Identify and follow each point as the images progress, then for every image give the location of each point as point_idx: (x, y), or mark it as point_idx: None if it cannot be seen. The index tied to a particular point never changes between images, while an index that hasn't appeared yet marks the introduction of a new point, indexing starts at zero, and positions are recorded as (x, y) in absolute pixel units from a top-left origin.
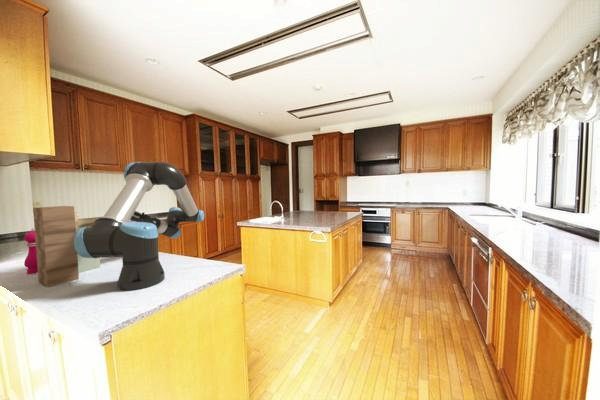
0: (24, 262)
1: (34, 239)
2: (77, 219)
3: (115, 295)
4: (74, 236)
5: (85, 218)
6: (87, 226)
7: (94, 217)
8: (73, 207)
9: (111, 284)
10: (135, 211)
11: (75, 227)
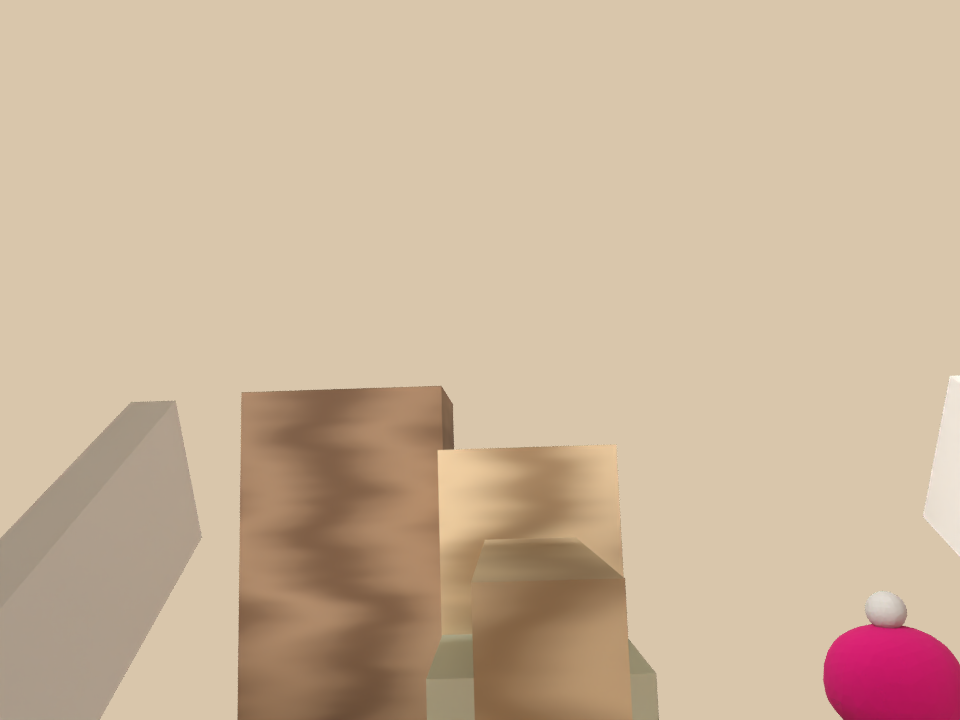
0: None
1: (826, 694)
2: (439, 534)
3: None
4: (241, 675)
5: (541, 546)
6: (463, 654)
7: (573, 556)
8: (243, 402)
9: None
10: (26, 534)
11: (240, 591)
